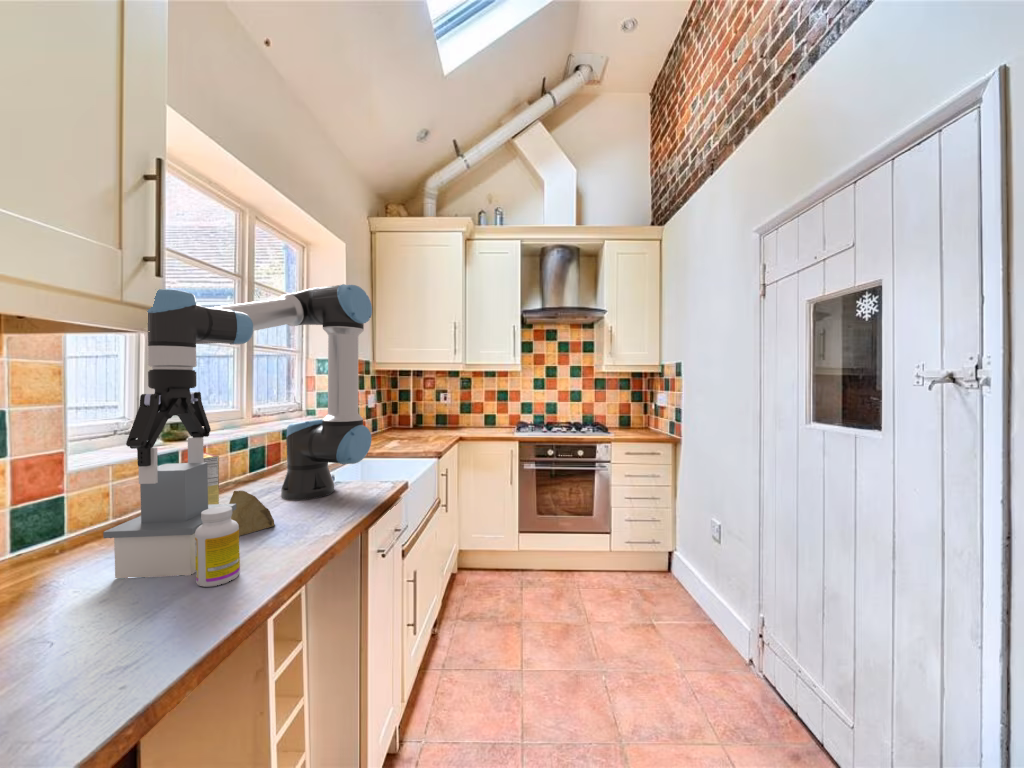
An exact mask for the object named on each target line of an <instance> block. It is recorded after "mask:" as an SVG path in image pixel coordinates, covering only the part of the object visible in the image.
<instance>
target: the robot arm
mask: <svg viewBox="0 0 1024 768" xmlns="http://www.w3.org/2000/svg"><path fill="white" fill-rule="evenodd" d="M158 289H159V290H158V291H157V293H156V296H155V298H154V299H155V301H154V304H153V307H151V308H150V309H148V311H147V310H146V311H147V312H148V323H147V346H148V347H147V348H148V351H147V354H148V356H147V357H148V359H147V361H148V362H147V363H148V364H147V365H148V367H151V369H148V371H147V387H148V388H149V389H151V390H154V393H141V394H140V396H139V397H140V398H139V406H138V409H137V412H136V415H135V418H134V420H133V423H132V425H131V428H130V432H129V434H128V437H127V439H126V443H125V444H126V446H127V447H129V448H130V449H133V450H135V449H136V450H137V452H136V453H137V466H138V485H140V484H155V483H158V466H159V465H158V447H154V445H155V444H156V442H157V440H158V439H159V437H160V435H161V433H162V431H163V429H164V427H165V425H166V423H167V422H168V420H169V419H171V418H172V417H175V416H177V417H178V418H179V420H180V421H181V423H182V424H183V426H184V427H185V429H186V431H187V432H188V434H189V435H190V437H187V463H204V459H203V453H204V438H205V437H209V436H210V433H211V426H210V424H209V423H210V422H209V420H208V418H207V414H206V410H205V409H204V405H203V402H202V393H201V392H200V391H191V389H195V388H196V387H197V371H196V369H195V370H194V368H196V367H197V345H205V344H207V345H210V344H227V345H228V344H230V345H244V344H247V343H248V342H249V341H250V340H251V338H252V337H253V334H254V332H255V331H259V330H264V329H270V328H276V327H280V326H286V325H287V326H290V327H298V326H309V325H310V326H311V325H312V326H322V330H323V331H324V332H325V333H326V334H327V337H328V338H327V343H328V344H327V346H328V347H327V414H326V415H325V416H324V417H323V418H322V419H316V420H315V419H314V420H308V421H300V422H291V423H289V424H288V426H287V428H286V437H285V438H286V439H285V440H286V441H285V442H286V465H287V466H286V467H287V469H286V471H287V472H286V475H285V478H284V480H283V483H282V485H281V490H280V497H281V498H282V499H284V500H289V501H301V500H302V501H304V500H305V501H306V500H312V499H317V498H322V497H325V496H329V495H331V494H333V493H334V492H335V483H334V480H333V477H332V474H331V471H330V469H329V463H333V464H339V465H353V464H359V463H360V462H361V461H363V459H365V458H366V456H367V454H368V453H369V451H370V448H371V447H372V446H371V445H372V433H371V431H370V429H369V428H368V427H367V426H365V425H364V418H363V416H361V414H359V336H360V335H361V334H362V333H363V332H364V327H365V324H366V323H367V322H369V321H370V319H371V318H372V314H373V306H372V303H371V300H370V297H369V296H368V295H367V292H366V291H365V290H364V289H363V288H362V287H360V286H358V285H356V284H344V283H343V284H339V285H329V286H318V287H312V288H308V289H307V288H306V289H304V290H300V291H297V292H291V293H286V294H282V295H280V296H279V298H273V299H267V300H260V301H249V302H244V303H243V302H242V303H235V304H228V305H227V304H226V305H220V306H214V307H213V306H211V307H209V306H205V305H200V304H198V303H197V299H196V296H195V294H194V293H191V292H188V291H185V290H179V289H173V288H158ZM148 331H150V332H148ZM333 491H334V492H333ZM332 492H333V493H332Z"/></svg>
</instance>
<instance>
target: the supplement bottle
mask: <svg viewBox="0 0 1024 768" xmlns="http://www.w3.org/2000/svg"><path fill="white" fill-rule="evenodd" d="M231 516H232V507H228V506H223V507H215V508H210V509H207V510H204V511H202V512H201V519H202V521H203V524H202V525H201V526H199V527H198V528H197V529H196V531H195V560H196V572H195V582H196V584H197V586H200V587H205V588H206V587H207V588H209V587H210V588H211V587H218V586H221V584H222V585H224V584H225V585H226V584H227V583H229V581H230V582H232V581H233V580H235V579H236V578H238V576H239V575H240V573H241V568H240V567H241V563H240V562H241V558H240V557H241V556H240V536H239V525H238V523H237V522H236V521H234V520H231ZM231 580H232V581H231ZM217 585H218V586H217Z"/></svg>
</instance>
